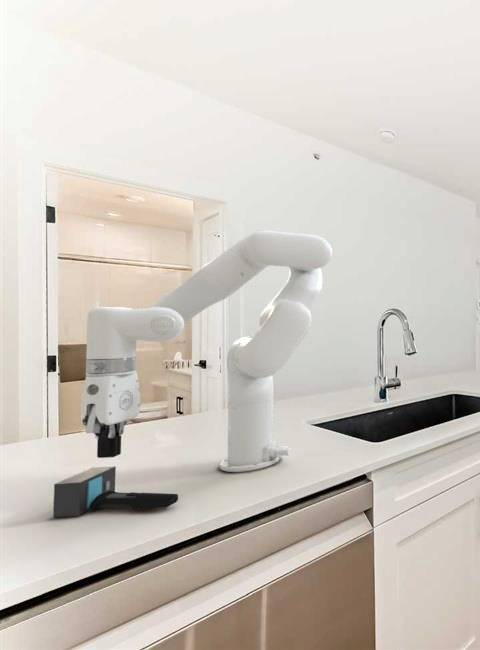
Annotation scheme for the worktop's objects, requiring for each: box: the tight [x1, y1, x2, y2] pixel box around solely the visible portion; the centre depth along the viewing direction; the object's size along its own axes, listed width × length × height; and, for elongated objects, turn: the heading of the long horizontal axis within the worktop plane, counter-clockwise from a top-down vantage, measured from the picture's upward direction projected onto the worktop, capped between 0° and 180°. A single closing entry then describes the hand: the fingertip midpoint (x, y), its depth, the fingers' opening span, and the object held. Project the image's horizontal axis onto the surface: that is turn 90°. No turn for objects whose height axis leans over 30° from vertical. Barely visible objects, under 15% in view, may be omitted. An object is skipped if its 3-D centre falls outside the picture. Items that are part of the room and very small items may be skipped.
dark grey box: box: [52, 465, 117, 518], centre depth 81 cm, size 4×6×9 cm
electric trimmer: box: [89, 490, 179, 512], centre depth 81 cm, size 4×16×3 cm, turn 88°
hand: (109, 456), depth 87 cm, fingers closed
